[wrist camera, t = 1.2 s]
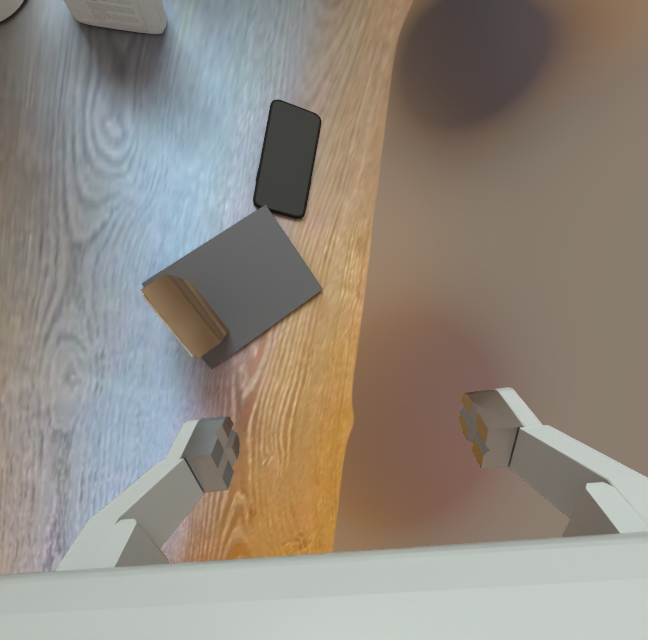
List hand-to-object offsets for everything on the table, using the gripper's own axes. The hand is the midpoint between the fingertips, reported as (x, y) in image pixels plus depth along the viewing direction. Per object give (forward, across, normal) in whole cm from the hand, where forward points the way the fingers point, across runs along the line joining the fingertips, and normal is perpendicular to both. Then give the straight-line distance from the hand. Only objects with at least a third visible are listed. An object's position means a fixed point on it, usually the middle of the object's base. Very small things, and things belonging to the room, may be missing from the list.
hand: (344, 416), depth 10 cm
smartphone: (+40, +5, -8) cm, 41 cm away
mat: (+30, +14, +6) cm, 34 cm away
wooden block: (+27, +18, +8) cm, 34 cm away
